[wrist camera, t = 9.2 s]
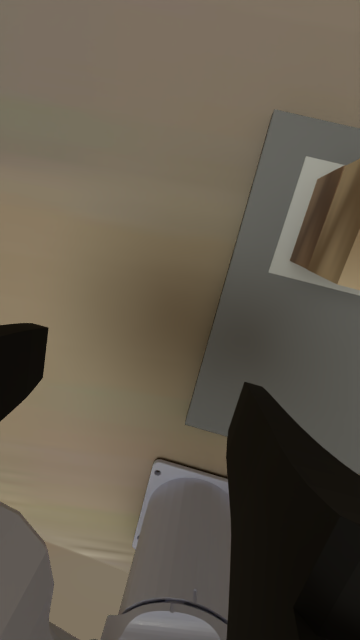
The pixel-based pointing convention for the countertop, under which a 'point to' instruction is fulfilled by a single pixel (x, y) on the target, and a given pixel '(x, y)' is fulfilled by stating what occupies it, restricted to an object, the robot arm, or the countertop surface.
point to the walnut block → (315, 217)
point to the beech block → (341, 234)
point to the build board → (286, 301)
